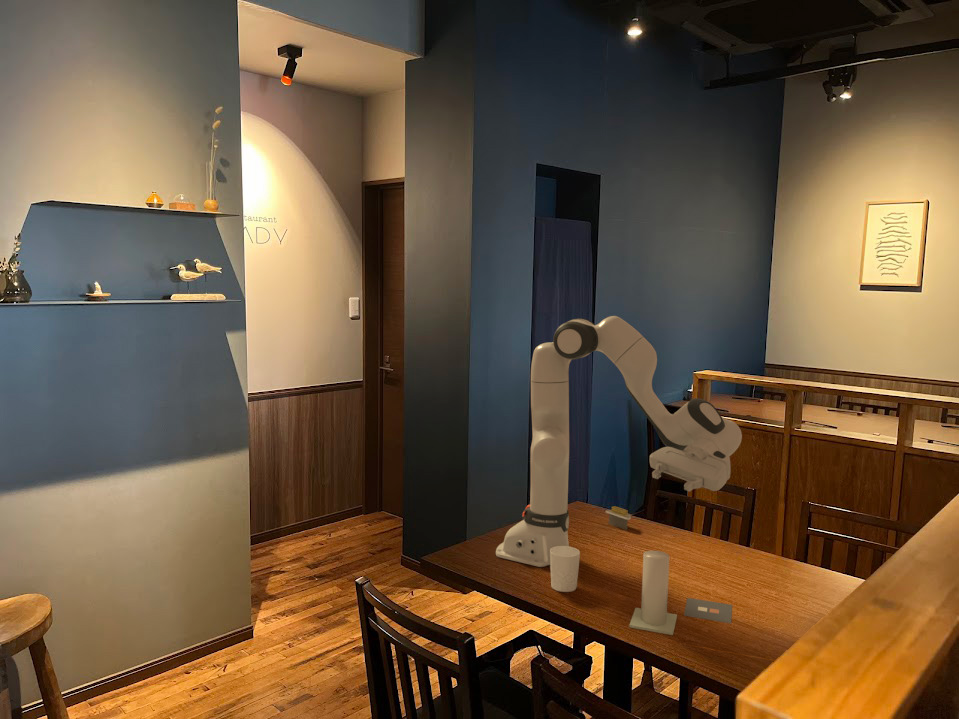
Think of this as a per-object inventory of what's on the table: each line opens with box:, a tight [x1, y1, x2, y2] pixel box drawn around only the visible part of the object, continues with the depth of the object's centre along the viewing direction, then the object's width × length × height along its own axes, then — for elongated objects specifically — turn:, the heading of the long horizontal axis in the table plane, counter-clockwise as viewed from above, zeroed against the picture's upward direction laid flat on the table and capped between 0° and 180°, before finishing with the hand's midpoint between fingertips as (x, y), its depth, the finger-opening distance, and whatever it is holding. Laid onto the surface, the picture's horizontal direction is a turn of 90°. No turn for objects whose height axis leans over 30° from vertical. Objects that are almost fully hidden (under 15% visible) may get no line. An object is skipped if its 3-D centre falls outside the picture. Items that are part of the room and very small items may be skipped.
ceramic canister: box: [640, 550, 670, 625], centre depth 172 cm, size 6×6×16 cm
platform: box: [605, 506, 632, 531], centre depth 242 cm, size 12×18×7 cm, turn 38°
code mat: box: [683, 597, 733, 624], centre depth 180 cm, size 11×11×1 cm
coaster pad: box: [628, 607, 678, 636], centre depth 173 cm, size 10×10×1 cm
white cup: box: [549, 545, 581, 593], centre depth 192 cm, size 8×8×10 cm
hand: (670, 482), depth 182 cm, fingers open, 8 cm apart
